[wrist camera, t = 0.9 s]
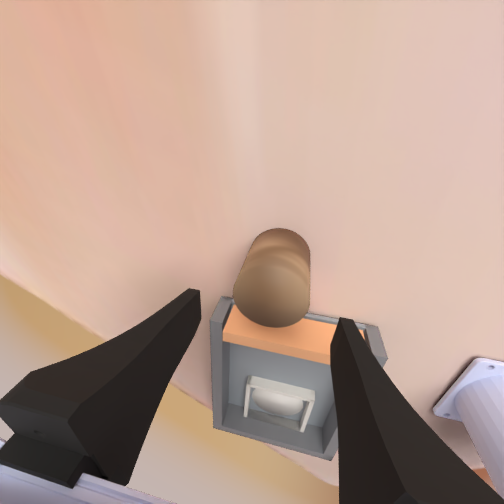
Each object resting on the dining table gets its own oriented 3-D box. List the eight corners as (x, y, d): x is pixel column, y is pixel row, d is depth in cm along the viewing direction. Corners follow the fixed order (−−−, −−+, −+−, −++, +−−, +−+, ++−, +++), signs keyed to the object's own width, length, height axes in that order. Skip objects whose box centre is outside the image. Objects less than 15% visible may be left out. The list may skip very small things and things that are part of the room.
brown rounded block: (315, 233, 16) (317, 274, 12) (304, 284, 19) (302, 334, 14) (252, 224, 17) (233, 260, 13) (249, 274, 19) (231, 319, 15)
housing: (378, 326, 19) (387, 358, 17) (329, 430, 28) (331, 461, 25) (221, 296, 21) (209, 320, 19) (221, 401, 30) (213, 427, 27)
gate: (362, 330, 19) (370, 364, 16) (358, 338, 19) (366, 372, 17) (233, 304, 20) (222, 331, 18) (233, 313, 21) (222, 340, 18)
